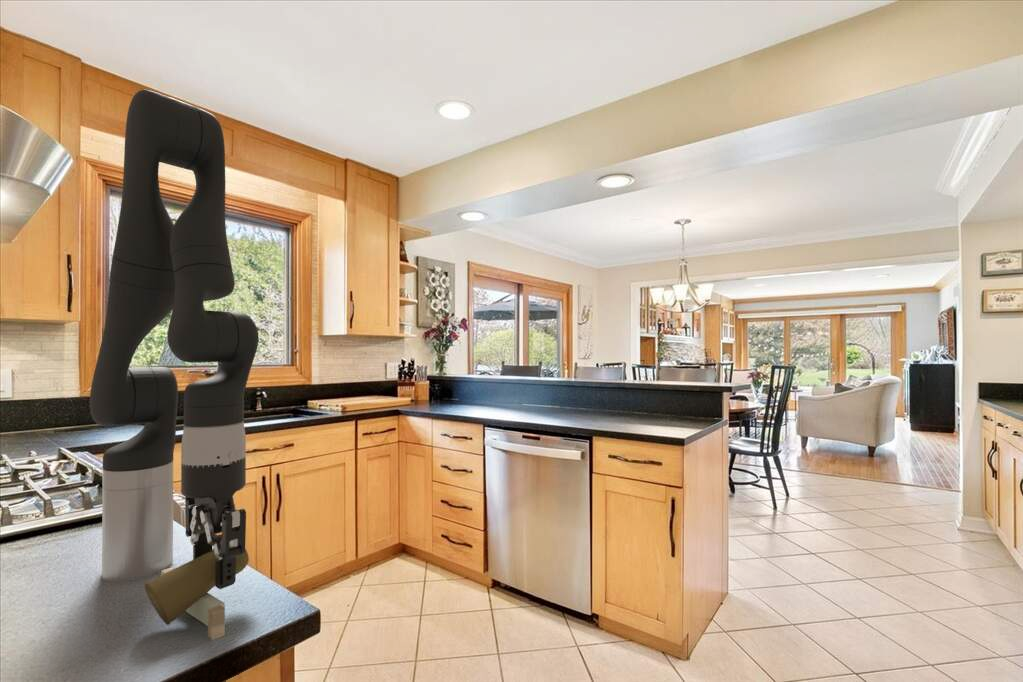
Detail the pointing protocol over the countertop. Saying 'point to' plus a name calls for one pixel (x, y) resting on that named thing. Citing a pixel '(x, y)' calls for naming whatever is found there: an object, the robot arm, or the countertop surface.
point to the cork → (186, 585)
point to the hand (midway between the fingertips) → (213, 577)
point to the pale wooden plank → (212, 618)
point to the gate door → (204, 607)
